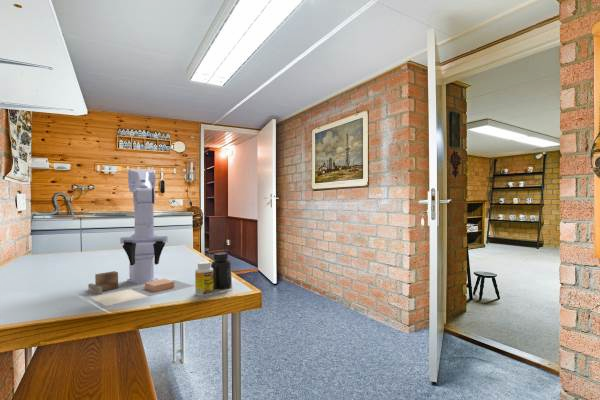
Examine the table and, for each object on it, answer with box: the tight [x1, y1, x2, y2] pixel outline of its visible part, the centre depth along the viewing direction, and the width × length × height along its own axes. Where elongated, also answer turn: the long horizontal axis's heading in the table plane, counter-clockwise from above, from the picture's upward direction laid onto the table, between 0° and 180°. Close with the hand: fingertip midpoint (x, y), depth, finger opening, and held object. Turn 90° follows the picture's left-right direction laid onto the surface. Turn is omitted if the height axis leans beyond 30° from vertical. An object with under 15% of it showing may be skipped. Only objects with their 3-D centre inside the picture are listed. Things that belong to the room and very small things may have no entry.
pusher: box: [87, 270, 119, 296], centre depth 109 cm, size 7×9×6 cm
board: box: [89, 279, 194, 307], centre depth 106 cm, size 14×28×1 cm, turn 140°
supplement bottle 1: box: [194, 260, 214, 297], centre depth 103 cm, size 6×6×10 cm
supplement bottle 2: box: [211, 251, 233, 290], centre depth 110 cm, size 7×7×12 cm
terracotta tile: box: [144, 278, 174, 292], centre depth 110 cm, size 7×7×2 cm
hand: (144, 264), depth 107 cm, fingers open, 7 cm apart
